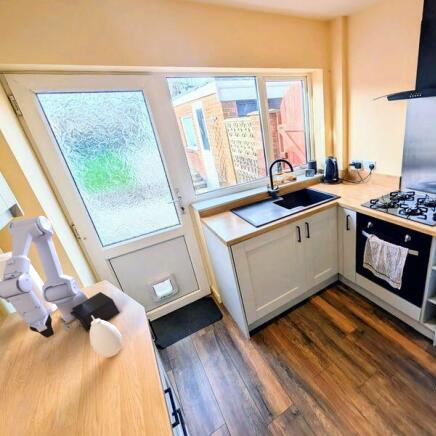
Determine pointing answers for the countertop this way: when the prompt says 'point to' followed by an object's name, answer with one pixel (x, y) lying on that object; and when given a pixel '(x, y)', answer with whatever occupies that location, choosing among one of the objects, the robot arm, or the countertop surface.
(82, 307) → the black drawer box
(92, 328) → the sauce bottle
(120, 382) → the countertop surface
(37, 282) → the cylinder container
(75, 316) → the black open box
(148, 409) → the countertop surface
